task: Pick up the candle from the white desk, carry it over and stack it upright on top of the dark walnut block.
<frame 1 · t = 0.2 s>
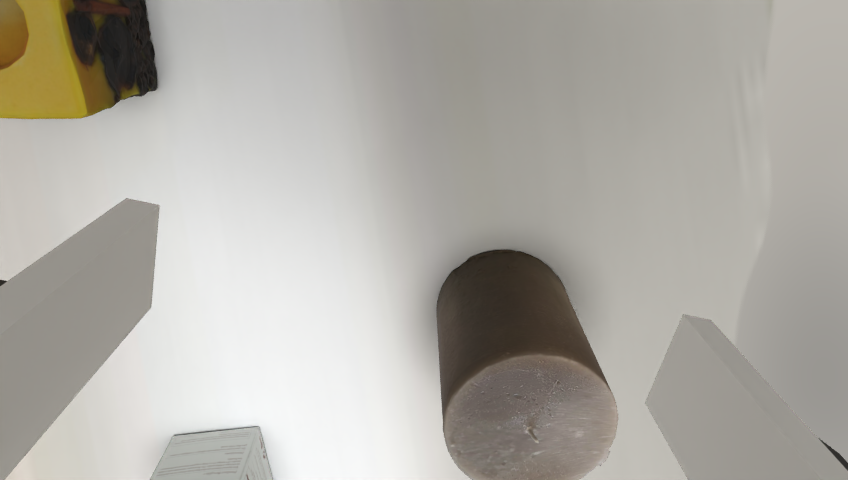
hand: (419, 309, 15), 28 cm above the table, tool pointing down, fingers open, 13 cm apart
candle: (69, 9, 39), on the table
pillar candle: (499, 309, 47), on the table
supplement box: (228, 463, 52), on the table
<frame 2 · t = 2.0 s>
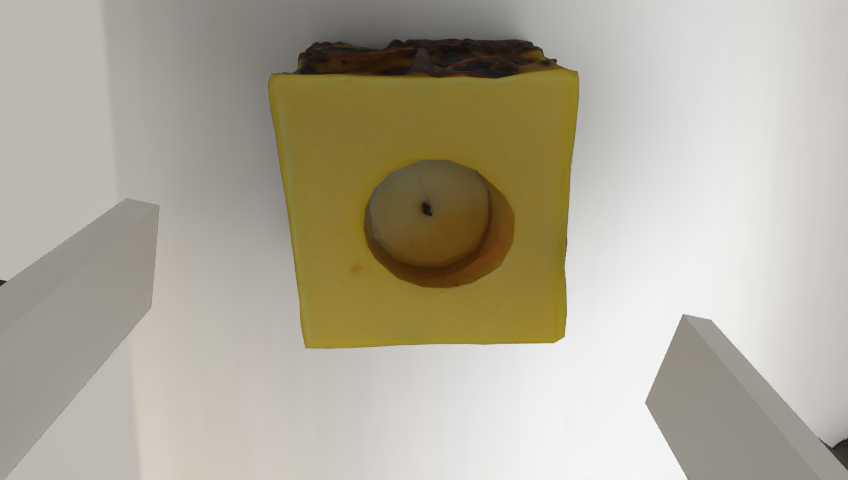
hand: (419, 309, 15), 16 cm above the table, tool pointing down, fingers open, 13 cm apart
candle: (424, 147, 30), on the table
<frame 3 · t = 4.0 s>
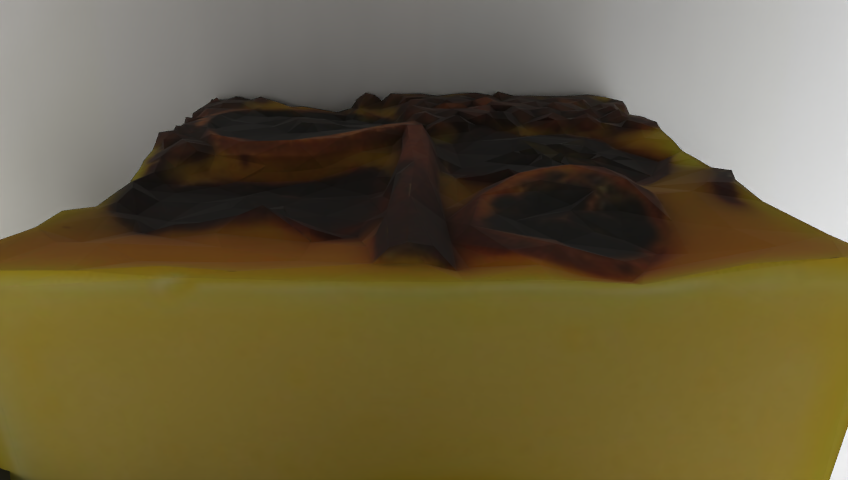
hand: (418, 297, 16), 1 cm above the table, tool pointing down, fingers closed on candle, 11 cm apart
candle: (419, 275, 17), on the table, touching gripper
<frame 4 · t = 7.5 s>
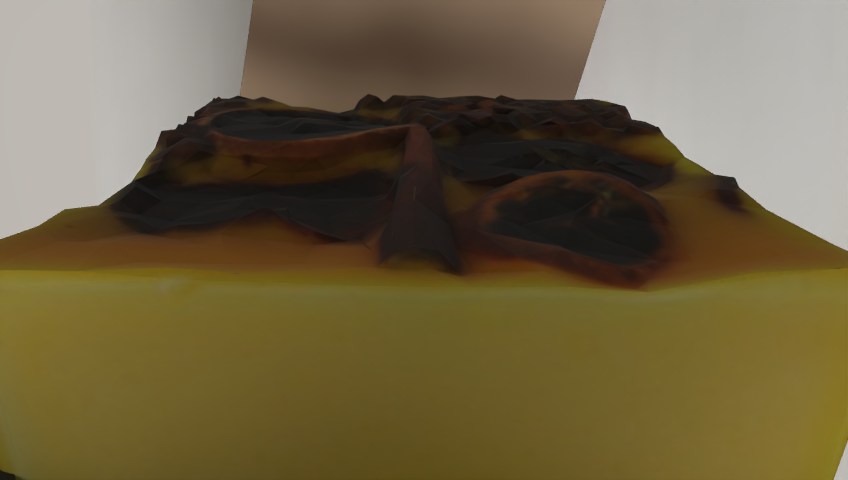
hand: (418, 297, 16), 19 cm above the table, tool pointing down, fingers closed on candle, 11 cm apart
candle: (418, 277, 17), point 18 cm above the table, touching gripper
walnut block: (418, 38, 33), on the table
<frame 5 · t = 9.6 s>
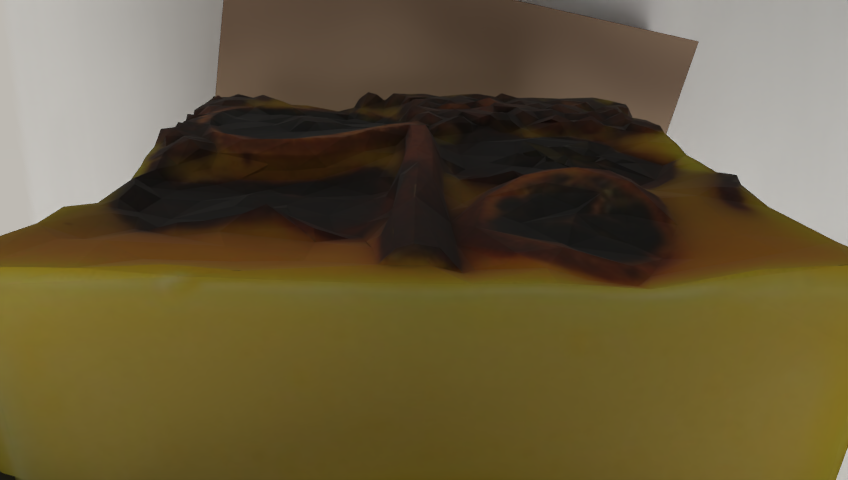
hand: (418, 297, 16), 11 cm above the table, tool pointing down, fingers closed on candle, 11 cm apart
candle: (419, 276, 17), point 10 cm above the table, touching gripper
walnut block: (421, 175, 27), on the table
when the fingers open (7 cm above the table, at t = 11.3 s): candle drops 2 cm, resting on walnut block.
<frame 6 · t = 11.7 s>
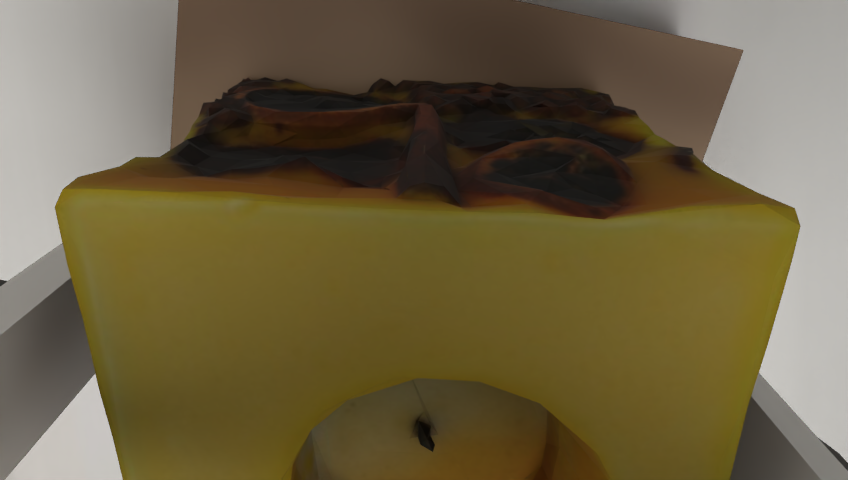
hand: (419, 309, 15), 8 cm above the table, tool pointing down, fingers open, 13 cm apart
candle: (421, 247, 19), point 4 cm above the table, touching walnut block
walnut block: (417, 201, 24), on the table, touching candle
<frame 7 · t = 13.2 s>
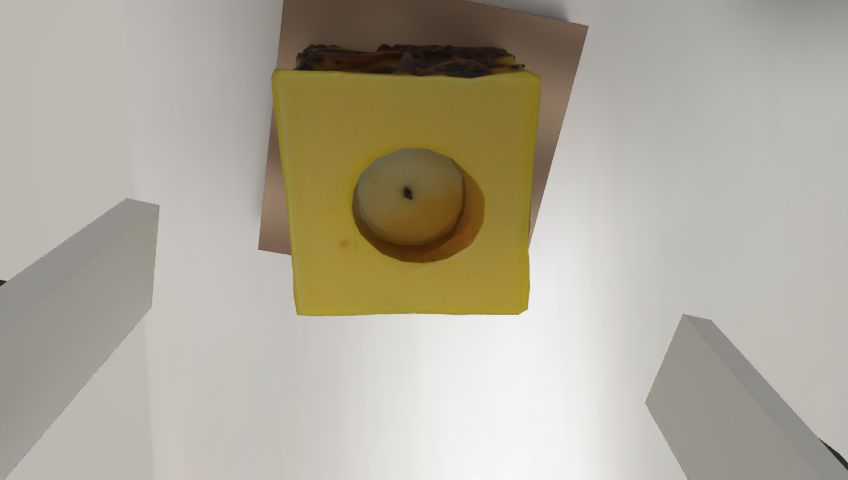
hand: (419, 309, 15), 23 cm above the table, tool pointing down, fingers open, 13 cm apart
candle: (408, 142, 33), point 4 cm above the table, touching walnut block
walnut block: (413, 126, 38), on the table, touching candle
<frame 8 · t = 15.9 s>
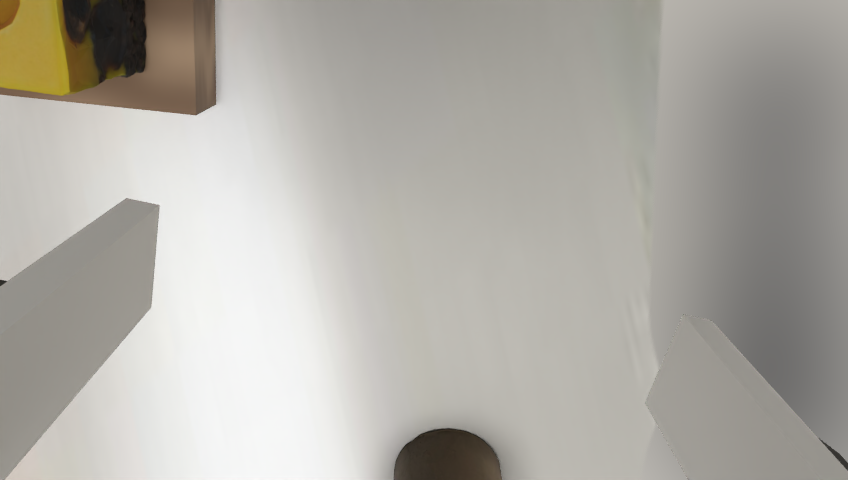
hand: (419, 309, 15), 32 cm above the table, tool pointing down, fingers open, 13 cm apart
pillar candle: (446, 470, 57), on the table
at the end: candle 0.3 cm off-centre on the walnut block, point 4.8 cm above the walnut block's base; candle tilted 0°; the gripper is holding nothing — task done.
